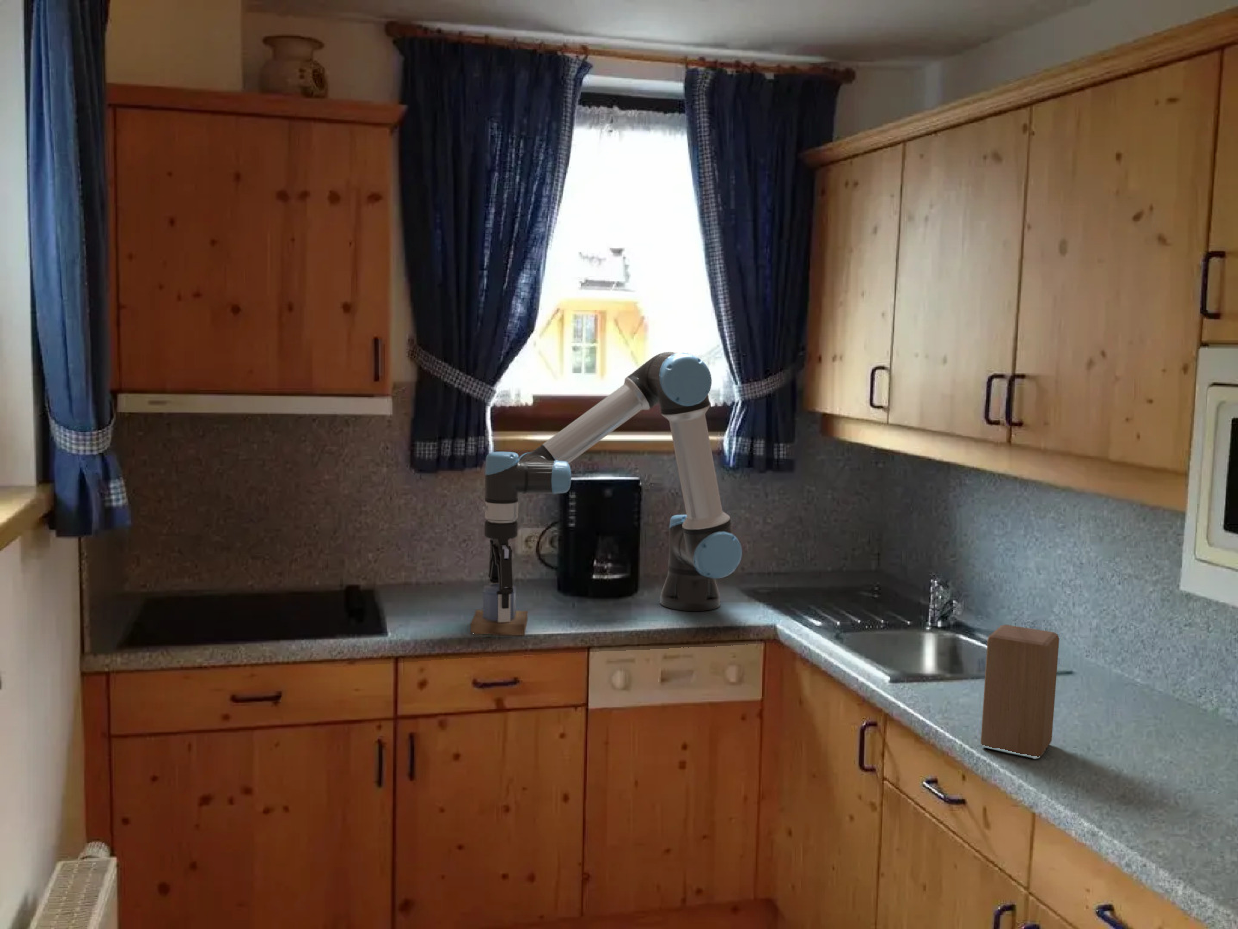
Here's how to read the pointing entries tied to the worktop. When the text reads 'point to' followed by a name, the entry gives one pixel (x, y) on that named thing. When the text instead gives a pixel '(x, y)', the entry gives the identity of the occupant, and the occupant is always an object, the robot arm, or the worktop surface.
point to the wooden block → (1019, 689)
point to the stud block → (499, 624)
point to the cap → (495, 602)
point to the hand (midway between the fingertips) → (499, 616)
